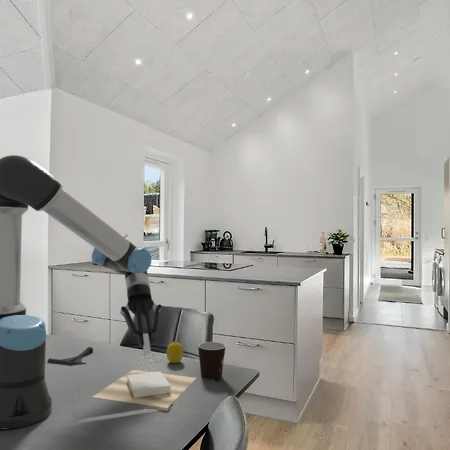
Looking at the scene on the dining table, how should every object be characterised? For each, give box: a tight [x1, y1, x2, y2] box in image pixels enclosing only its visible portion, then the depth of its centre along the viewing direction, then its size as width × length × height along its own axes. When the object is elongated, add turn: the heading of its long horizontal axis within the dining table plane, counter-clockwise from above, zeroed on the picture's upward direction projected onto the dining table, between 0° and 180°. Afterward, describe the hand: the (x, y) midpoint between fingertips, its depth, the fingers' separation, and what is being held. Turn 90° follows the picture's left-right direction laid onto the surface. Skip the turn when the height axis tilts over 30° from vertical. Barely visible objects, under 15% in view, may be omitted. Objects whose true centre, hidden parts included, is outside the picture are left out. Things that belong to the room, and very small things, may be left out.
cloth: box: [92, 369, 197, 412], centre depth 116 cm, size 22×22×1 cm
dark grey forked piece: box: [47, 346, 94, 366], centre depth 143 cm, size 14×15×3 cm
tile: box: [127, 370, 171, 398], centre depth 115 cm, size 2×10×12 cm
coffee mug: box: [197, 341, 226, 382], centre depth 127 cm, size 12×9×10 cm
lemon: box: [166, 340, 184, 364], centre depth 137 cm, size 6×6×8 cm
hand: (147, 355), depth 117 cm, fingers closed
